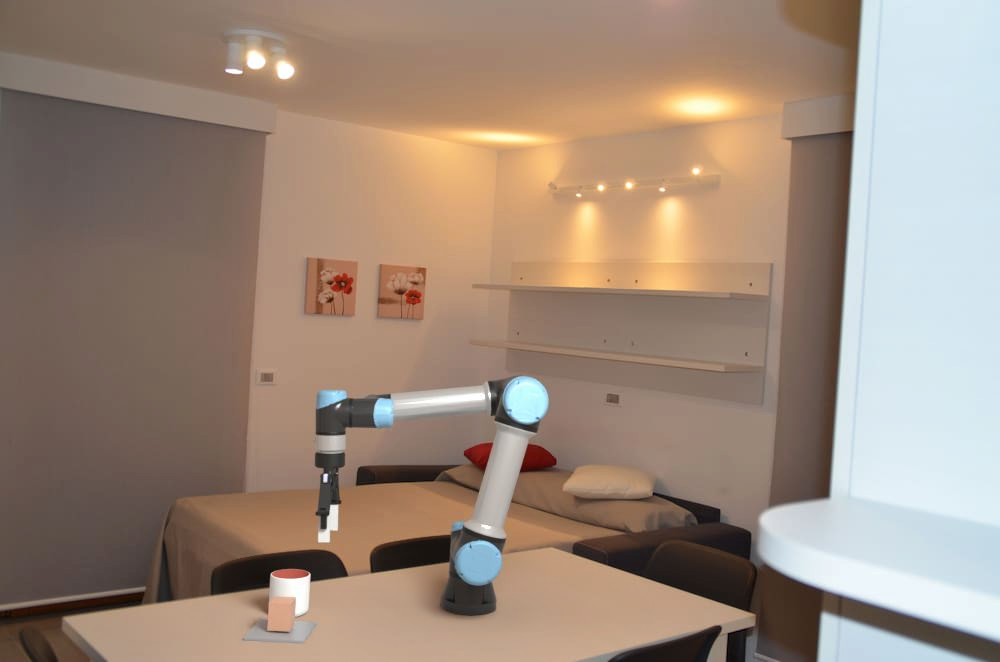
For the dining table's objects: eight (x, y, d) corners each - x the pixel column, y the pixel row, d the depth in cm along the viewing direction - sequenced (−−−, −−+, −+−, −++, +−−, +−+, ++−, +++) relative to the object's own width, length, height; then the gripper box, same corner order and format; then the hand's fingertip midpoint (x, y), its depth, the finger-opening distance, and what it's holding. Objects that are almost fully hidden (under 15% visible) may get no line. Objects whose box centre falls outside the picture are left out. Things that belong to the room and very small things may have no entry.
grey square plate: (316, 624, 214) (318, 595, 214) (304, 643, 200) (305, 612, 200) (259, 621, 214) (261, 592, 214) (243, 640, 200) (245, 609, 200)
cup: (298, 621, 216) (300, 580, 216) (261, 616, 218) (263, 576, 218) (314, 609, 226) (316, 571, 226) (278, 605, 228) (281, 567, 228)
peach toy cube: (294, 624, 210) (296, 597, 210) (289, 631, 205) (291, 603, 205) (272, 623, 210) (274, 596, 210) (267, 630, 205) (269, 602, 205)
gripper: (323, 445, 231) (321, 525, 230) (306, 457, 206) (304, 547, 205) (351, 445, 231) (349, 525, 230) (337, 457, 206) (336, 547, 206)
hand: (328, 536), depth 218 cm, fingers open, 13 cm apart
